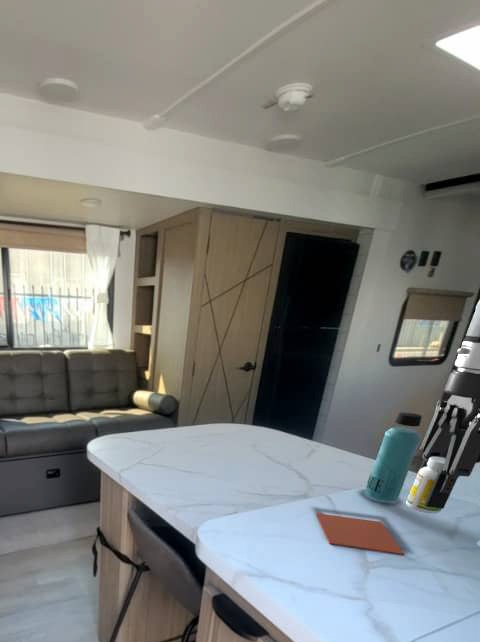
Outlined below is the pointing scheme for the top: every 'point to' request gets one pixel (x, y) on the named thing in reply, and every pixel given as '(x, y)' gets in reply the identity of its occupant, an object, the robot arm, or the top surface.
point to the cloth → (358, 533)
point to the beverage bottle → (394, 459)
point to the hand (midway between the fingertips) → (426, 499)
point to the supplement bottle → (425, 485)
